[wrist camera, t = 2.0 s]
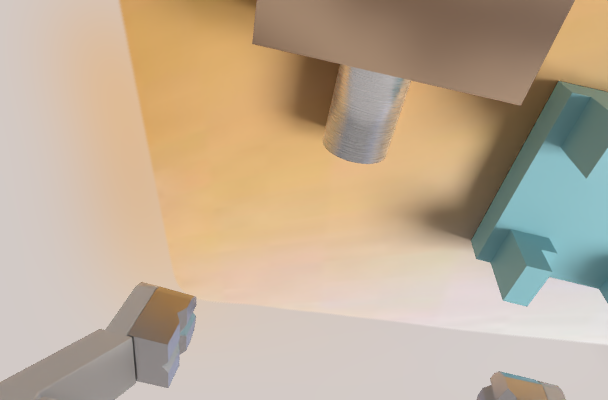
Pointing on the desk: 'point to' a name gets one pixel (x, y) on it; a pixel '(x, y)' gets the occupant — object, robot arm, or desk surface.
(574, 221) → the teal cradle
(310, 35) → the wooden bridge block
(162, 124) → the desk surface
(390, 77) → the steel axle
